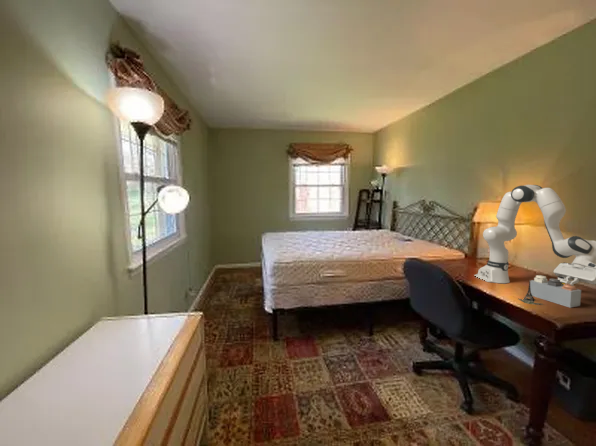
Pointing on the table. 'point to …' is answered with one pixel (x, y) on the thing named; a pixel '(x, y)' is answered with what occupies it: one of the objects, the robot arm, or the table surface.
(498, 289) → the table surface
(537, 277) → the button cream
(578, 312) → the table surface
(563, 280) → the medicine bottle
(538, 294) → the button console
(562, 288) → the button terracotta
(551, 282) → the button charcoal
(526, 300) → the eiffel tower figurine
